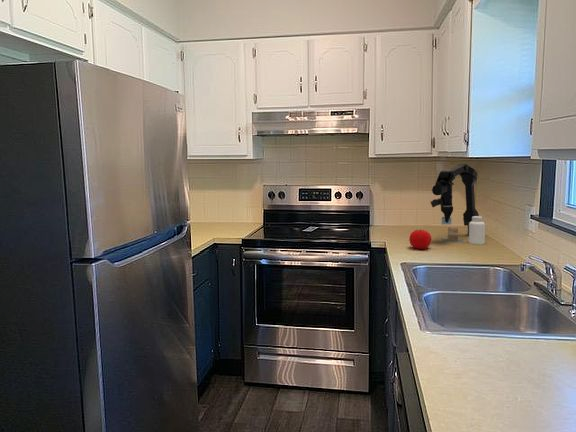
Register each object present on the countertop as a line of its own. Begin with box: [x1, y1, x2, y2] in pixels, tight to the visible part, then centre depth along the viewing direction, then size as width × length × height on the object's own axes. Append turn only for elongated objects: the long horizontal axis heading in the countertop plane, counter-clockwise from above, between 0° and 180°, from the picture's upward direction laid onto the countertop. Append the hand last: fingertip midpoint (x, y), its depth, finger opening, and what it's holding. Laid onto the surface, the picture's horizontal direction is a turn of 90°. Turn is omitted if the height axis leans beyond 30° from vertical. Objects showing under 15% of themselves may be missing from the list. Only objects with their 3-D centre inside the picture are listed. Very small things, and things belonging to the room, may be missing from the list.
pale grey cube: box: [441, 216, 452, 225], centre depth 257 cm, size 5×5×4 cm
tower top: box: [447, 226, 459, 236], centre depth 262 cm, size 5×5×4 cm
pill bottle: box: [468, 215, 486, 245], centre depth 253 cm, size 8×8×15 cm
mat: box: [440, 238, 464, 243], centre depth 263 cm, size 11×12×1 cm
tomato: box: [408, 229, 432, 250], centre depth 244 cm, size 11×13×10 cm
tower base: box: [447, 234, 459, 241], centre depth 262 cm, size 5×5×4 cm
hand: (446, 221), depth 257 cm, fingers closed on pale grey cube, 5 cm apart
